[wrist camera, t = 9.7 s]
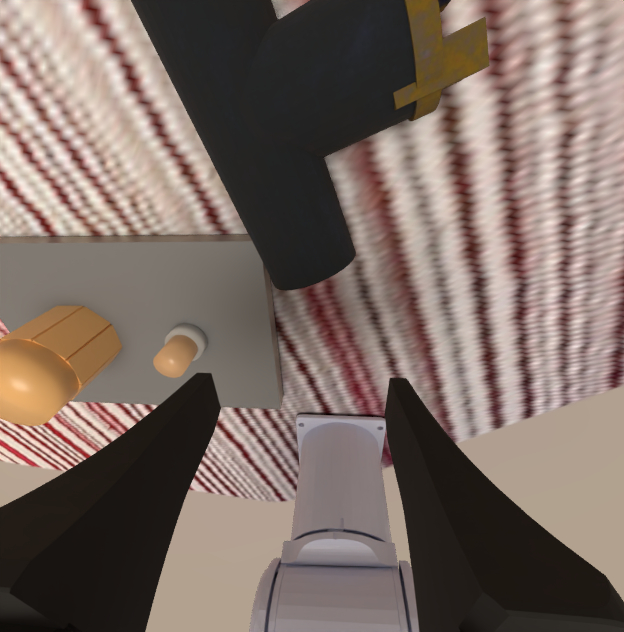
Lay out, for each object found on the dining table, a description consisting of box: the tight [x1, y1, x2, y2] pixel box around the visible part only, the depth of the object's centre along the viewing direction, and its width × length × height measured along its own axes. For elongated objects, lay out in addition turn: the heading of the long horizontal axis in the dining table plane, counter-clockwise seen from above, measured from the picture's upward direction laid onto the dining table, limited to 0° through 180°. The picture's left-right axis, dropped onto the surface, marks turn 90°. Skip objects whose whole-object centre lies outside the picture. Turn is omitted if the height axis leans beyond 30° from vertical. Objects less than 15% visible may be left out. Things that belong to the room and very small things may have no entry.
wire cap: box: [0, 306, 122, 426], centre depth 19 cm, size 5×5×6 cm
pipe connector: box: [131, 0, 489, 290], centre depth 12 cm, size 12×5×15 cm
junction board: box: [0, 234, 283, 409], centre depth 20 cm, size 14×20×4 cm
